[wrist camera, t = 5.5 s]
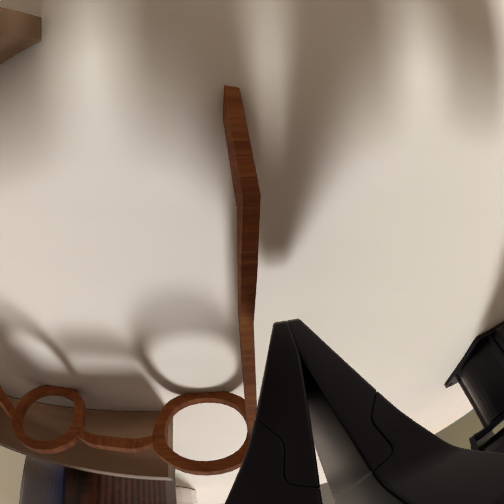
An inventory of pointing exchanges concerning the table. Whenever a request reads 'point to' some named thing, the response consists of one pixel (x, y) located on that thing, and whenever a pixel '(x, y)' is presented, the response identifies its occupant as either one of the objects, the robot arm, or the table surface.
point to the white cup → (186, 496)
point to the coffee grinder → (89, 487)
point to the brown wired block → (60, 418)
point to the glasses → (247, 280)
